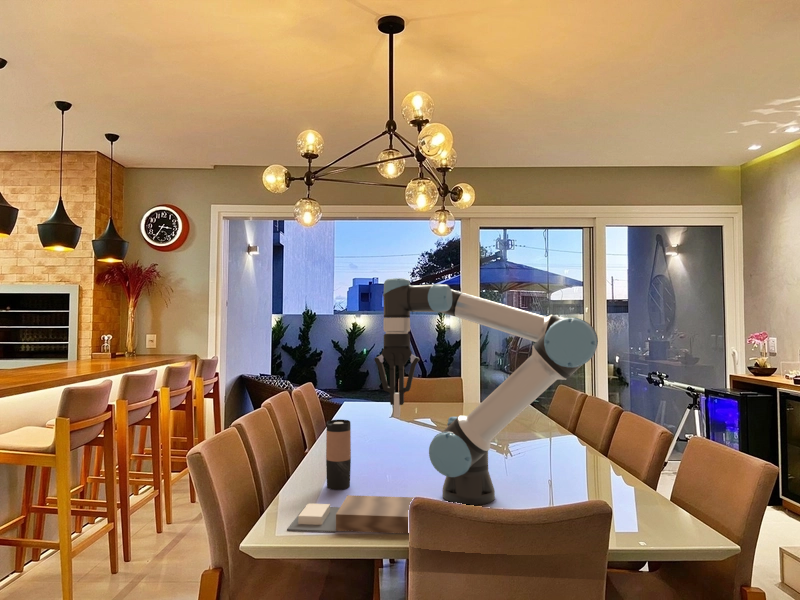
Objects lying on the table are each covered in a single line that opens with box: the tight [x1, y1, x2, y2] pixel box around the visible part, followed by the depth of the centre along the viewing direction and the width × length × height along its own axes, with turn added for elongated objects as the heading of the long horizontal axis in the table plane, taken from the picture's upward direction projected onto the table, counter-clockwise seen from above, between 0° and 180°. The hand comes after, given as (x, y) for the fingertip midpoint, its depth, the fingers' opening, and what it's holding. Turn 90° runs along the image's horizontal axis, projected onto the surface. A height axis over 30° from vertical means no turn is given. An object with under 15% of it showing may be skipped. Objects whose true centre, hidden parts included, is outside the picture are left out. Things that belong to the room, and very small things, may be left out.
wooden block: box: [336, 494, 415, 535], centre depth 132 cm, size 20×14×4 cm
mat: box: [286, 505, 341, 534], centre depth 134 cm, size 12×16×1 cm
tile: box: [297, 503, 331, 525], centre depth 134 cm, size 6×9×2 cm, turn 174°
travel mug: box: [325, 419, 352, 491], centre depth 161 cm, size 8×8×20 cm
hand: (397, 416), depth 146 cm, fingers closed
